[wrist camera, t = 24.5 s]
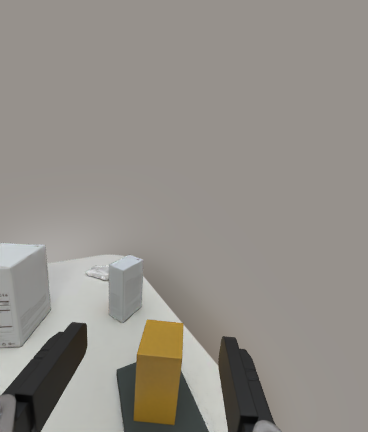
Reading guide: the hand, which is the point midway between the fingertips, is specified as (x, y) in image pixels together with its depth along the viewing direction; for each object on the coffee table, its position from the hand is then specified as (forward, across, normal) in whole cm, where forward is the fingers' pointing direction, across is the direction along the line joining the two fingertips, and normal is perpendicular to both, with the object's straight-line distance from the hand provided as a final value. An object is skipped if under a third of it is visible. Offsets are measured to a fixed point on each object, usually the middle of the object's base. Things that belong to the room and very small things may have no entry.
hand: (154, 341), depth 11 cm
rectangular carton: (+19, -29, -21) cm, 41 cm away
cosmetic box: (+26, -10, -21) cm, 35 cm away
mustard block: (+10, 0, -20) cm, 22 cm away
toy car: (+39, -22, -21) cm, 49 cm away
